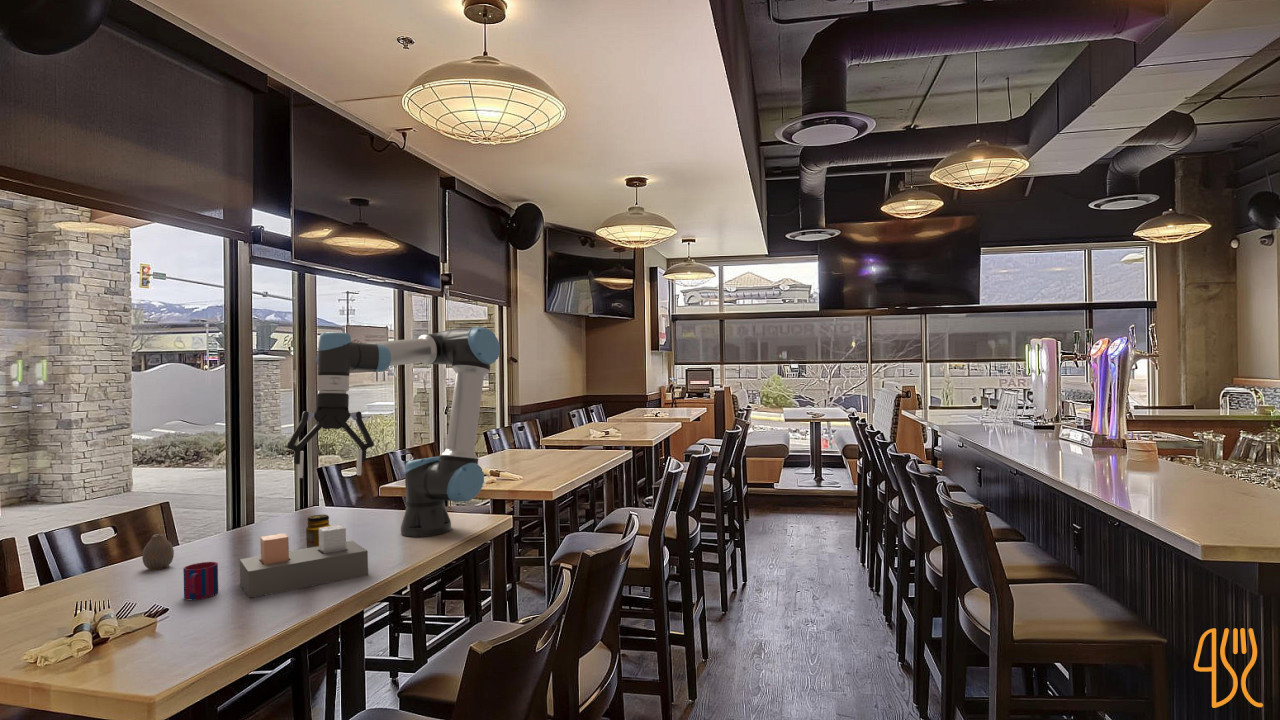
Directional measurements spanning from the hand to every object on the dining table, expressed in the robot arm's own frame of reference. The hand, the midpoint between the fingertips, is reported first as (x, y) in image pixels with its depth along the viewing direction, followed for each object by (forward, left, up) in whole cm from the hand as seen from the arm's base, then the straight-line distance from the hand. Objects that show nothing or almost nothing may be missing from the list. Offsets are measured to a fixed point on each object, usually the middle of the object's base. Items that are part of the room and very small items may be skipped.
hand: (330, 476), depth 177 cm
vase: (+35, -38, -24) cm, 57 cm away
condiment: (+1, -15, -24) cm, 29 cm away
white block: (0, +2, -19) cm, 19 cm away
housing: (+7, +2, -24) cm, 25 cm away
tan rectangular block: (+13, +2, -19) cm, 23 cm away
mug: (+29, 0, -24) cm, 38 cm away
